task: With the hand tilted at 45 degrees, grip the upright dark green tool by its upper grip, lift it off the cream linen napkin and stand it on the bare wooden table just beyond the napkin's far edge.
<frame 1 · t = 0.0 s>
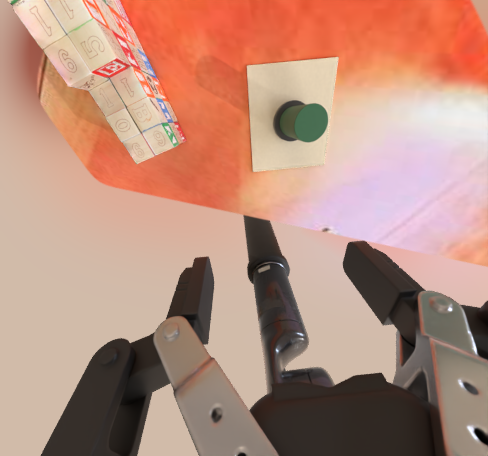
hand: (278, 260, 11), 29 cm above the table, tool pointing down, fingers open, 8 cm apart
napkin: (290, 121, 33), on the table
stack of blocks: (135, 76, 29), on the table
green tool: (290, 121, 33), resting on napkin
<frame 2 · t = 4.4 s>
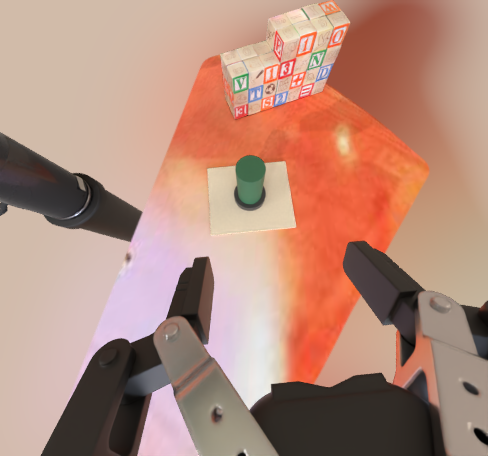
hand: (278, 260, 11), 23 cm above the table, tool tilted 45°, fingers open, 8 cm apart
napkin: (249, 197, 37), on the table
stack of blocks: (273, 96, 43), on the table
green tool: (249, 196, 37), resting on napkin
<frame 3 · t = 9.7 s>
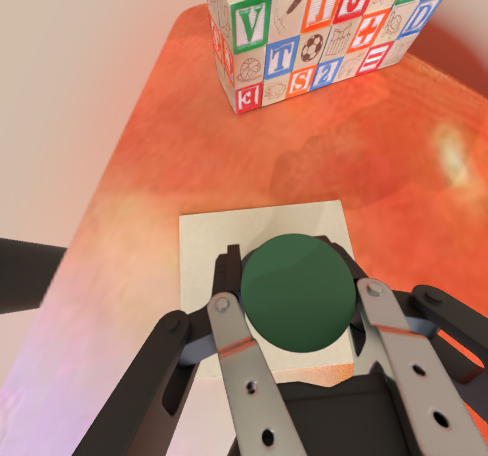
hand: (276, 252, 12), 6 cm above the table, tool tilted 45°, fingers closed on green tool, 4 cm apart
napkin: (268, 280, 17), on the table
stack of blocks: (308, 72, 23), on the table
green tool: (269, 281, 17), resting on napkin, touching gripper
when the fingers open (6 cm above the table, at t = 18.3 s): green tool stays where it is, on the table.
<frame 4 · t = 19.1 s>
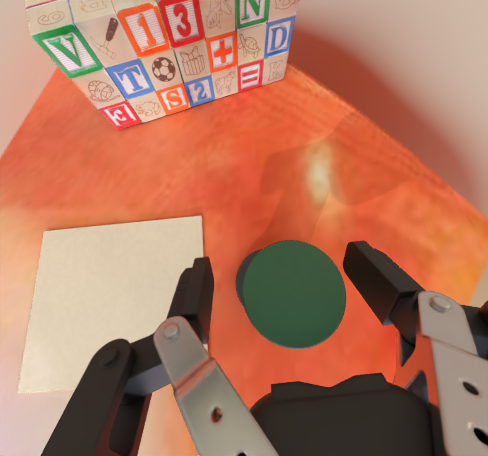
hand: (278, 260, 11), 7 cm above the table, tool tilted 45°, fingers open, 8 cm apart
napkin: (119, 295, 18), on the table
stack of blocks: (196, 88, 24), on the table
green tool: (268, 282, 18), on the table
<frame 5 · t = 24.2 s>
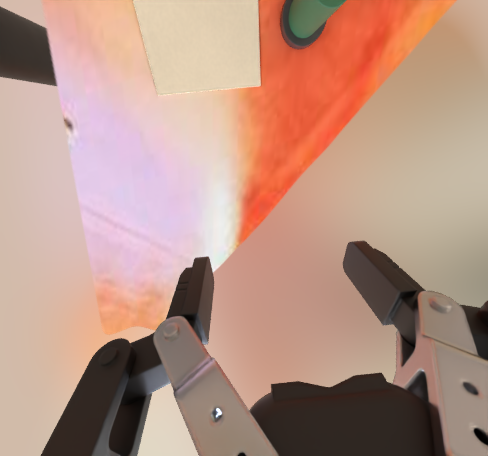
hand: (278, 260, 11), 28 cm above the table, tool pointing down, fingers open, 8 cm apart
napkin: (200, 28, 26), on the table
green tool: (301, 20, 26), on the table
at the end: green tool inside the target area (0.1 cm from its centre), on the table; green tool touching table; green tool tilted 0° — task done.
